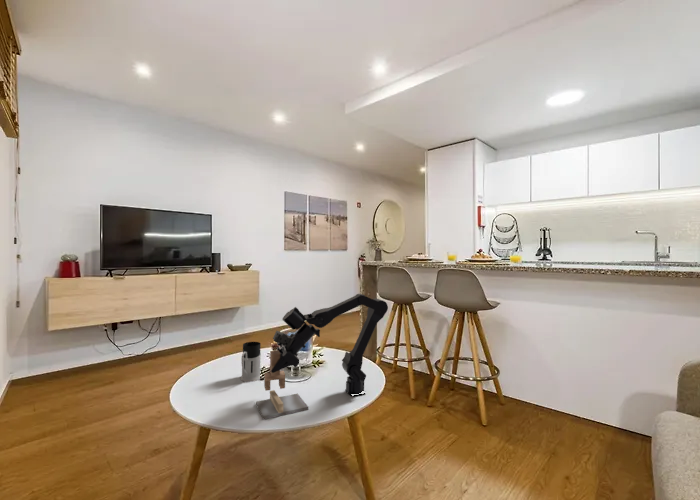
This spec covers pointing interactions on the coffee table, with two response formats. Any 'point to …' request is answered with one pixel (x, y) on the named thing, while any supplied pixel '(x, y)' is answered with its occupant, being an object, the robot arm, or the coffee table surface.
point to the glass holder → (251, 361)
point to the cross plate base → (287, 406)
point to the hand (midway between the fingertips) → (271, 369)
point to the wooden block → (276, 375)
